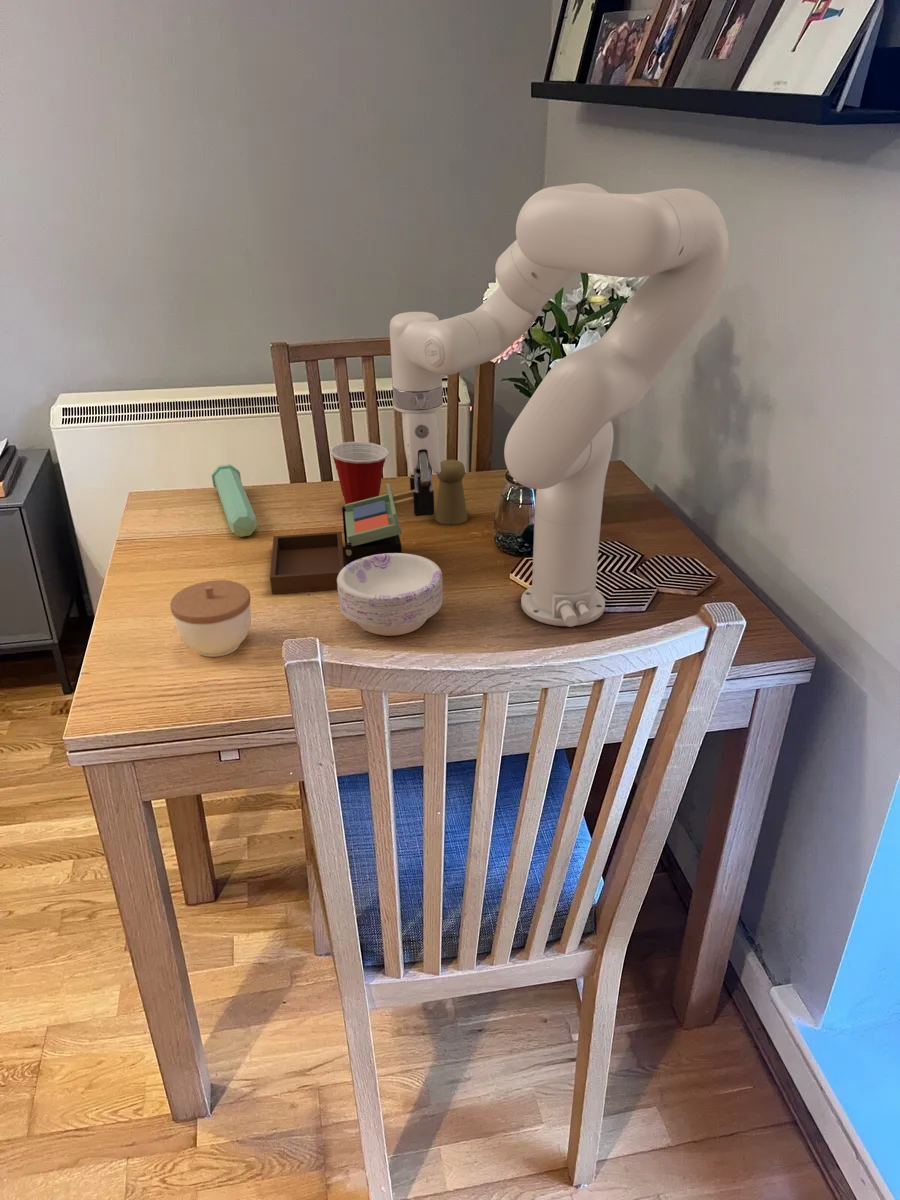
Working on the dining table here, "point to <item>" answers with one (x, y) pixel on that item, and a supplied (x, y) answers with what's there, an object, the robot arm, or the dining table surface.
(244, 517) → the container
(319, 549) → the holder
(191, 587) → the trinket box
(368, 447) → the plastic cup
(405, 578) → the paper bowls
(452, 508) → the pepper mill
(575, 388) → the robot arm
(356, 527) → the coral sachet
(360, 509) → the blue sachet
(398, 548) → the stand
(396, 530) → the green handled tray
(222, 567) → the dining table surface
